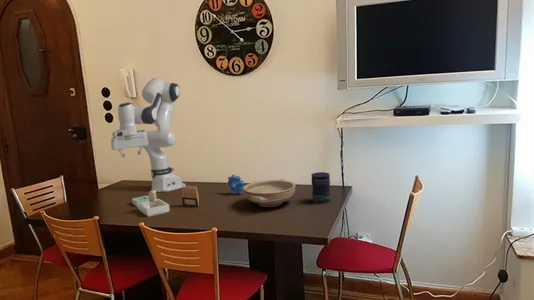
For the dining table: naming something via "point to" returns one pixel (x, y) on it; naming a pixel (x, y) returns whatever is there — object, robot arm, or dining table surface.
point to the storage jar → (321, 188)
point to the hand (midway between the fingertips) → (131, 155)
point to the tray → (148, 211)
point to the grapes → (235, 184)
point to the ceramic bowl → (269, 192)
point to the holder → (140, 200)
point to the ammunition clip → (190, 196)
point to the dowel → (152, 199)
